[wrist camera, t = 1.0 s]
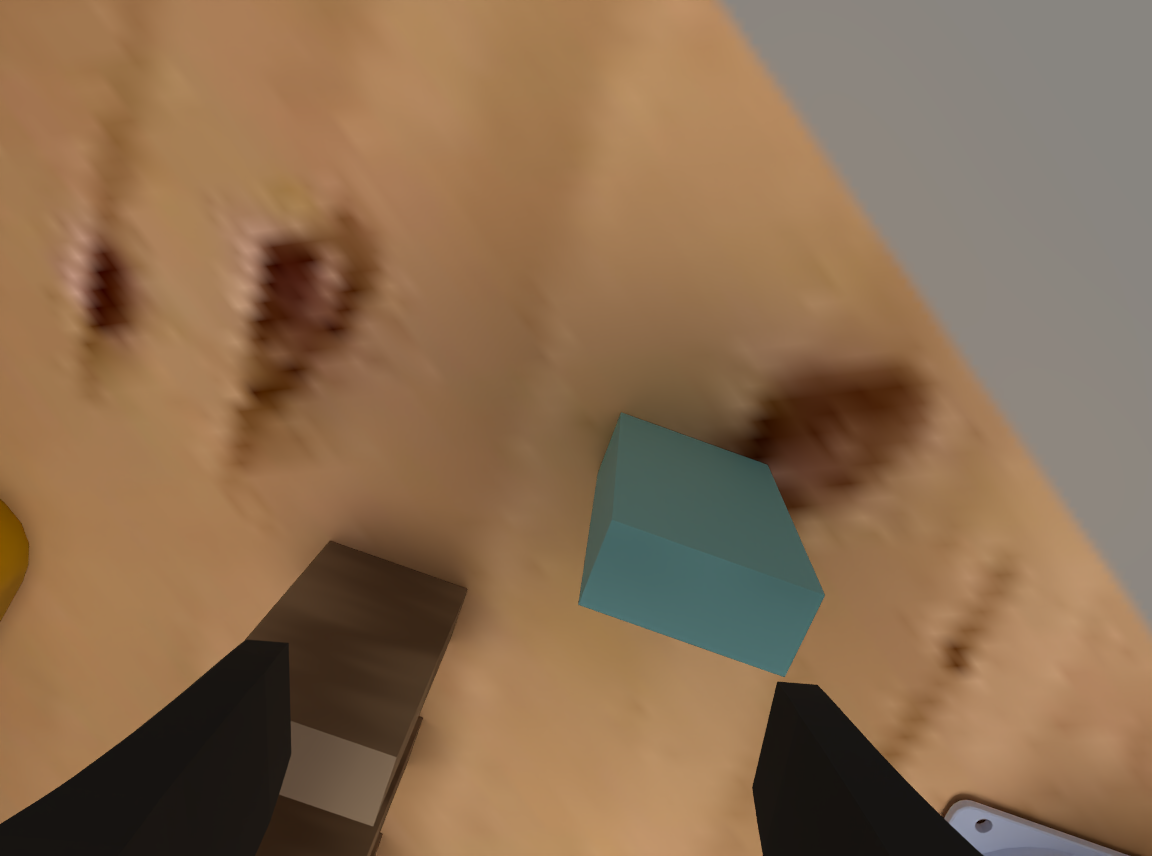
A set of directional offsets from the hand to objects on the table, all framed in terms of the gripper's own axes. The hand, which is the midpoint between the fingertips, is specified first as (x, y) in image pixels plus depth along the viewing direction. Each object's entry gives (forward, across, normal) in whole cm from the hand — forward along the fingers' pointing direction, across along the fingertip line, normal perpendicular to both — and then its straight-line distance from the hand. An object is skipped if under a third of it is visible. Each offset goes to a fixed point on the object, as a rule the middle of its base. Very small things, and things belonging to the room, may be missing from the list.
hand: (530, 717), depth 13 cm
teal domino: (+12, -4, +1) cm, 13 cm away
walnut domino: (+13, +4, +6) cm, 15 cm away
